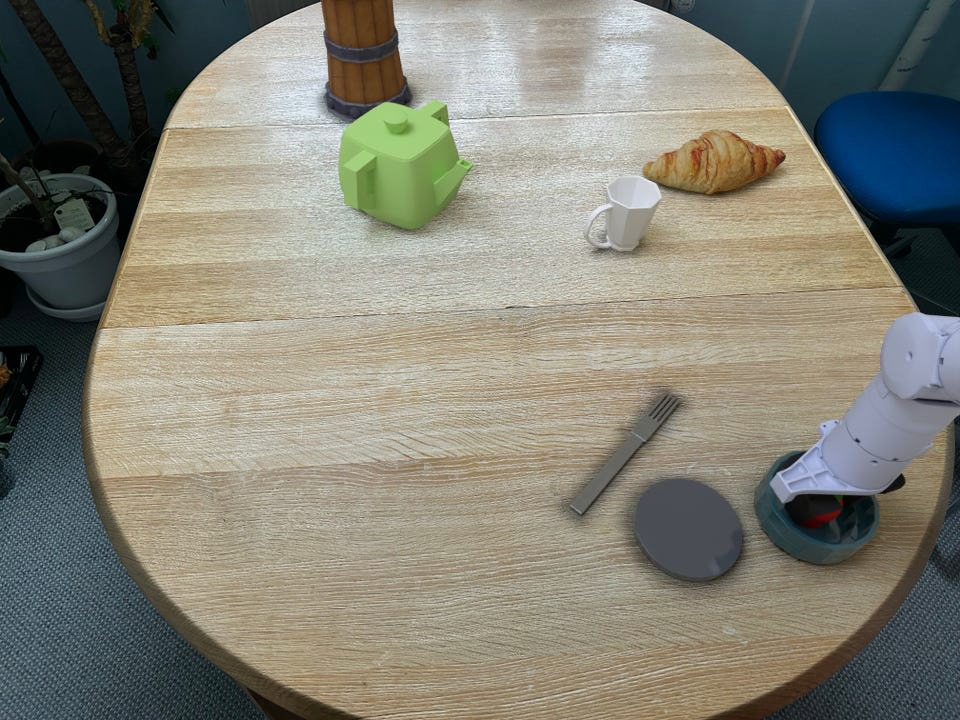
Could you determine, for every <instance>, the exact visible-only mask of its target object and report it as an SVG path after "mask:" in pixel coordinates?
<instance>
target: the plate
mask: <svg viewBox="0 0 960 720" xmlns="http://www.w3.org/2000/svg"><path fill="white" fill-rule="evenodd" d="M632 530H633V534H634V535H633V536H634V538H635V541H636V543H637V545H638V547H639V549H640V551H641V552H642V554H643V555H644V556H645V558H646V559H647V560H648V561H649V562H650V563H651V564H652V565H653V566H654V567H655V568H657V569H658V570H659V571H660V572H663V573H664V574H666V575H668V576H670V577H671V578H675V579H678V580H681V581H685V582H691V583H696V582H698V583H701V582H707V581H711V580H715V579H716V578H719V577H721V576H723V575H724V574H726V572H728V571H729V570H730V568H731V567H732V566H733V565H734V564H735V562H736V561H737V559H738V557H739V556H740V553H741V551H742V547H743V529H742V526H741V522H740V519H739V517H738V515H737V512H736V511H735V509H734V508H733V506H732V504H730V503H729V502H728V500H727V499H726V498H725V497H724V496H723V495H722V494H720V492H718V491H717V490H715V489H713V488H712V487H710V486H708V485H706V484H705V483H703V482H699V481H697V480H693V479H689V478H680V477H679V478H678V477H677V478H668V479H664V480H661V481H659V482H655V483H654V484H652V485H651V486H650V487H648V488H647V489H646V490H645V491H644V492H643V493H642V494H641V496H640V497H639V499H638V501H637V504H636V506H635V507H634V511H633V517H632Z"/></svg>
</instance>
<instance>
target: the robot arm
mask: <svg viewBox="0 0 960 720" xmlns="http://www.w3.org/2000/svg"><path fill="white" fill-rule="evenodd" d="M879 367H880V368H879V370H878V371H877V373H876V374H875V375H874V376H873V378H872V379H871V380H870V382H869V383H868V384H867V386H866V387H865V388H864V389H863V391H862V392H861V393H860V394H859V395H858V397H857V398H856V399H855V401H854V402H853V403H852V404H851V405H850V406H849V408H848V410H847V411H846V412H845V413H844V415H842V417H841V418H840V419H836V418H834V419H829V420H826V421H823V422H821V423H820V424H818V426H817V428H816V431H817V432H818V435H820V437H821V438H820V439H819V440H818V441H817V442H815V443H814V444H813V445H812V446H811V447H810V448H809V449H808V451H806V450H803V451H804V452H801V453H798V454H795V455H792V456H790V457H789V458H788V459H787V460H786V462H785V463H784V469H785V470H783V471H781V472H778V473H777V474H776V475H775V477H774V478H773V479H772V481H771V482H770V485H771V487H772V488H773V490H774V492H775V493H776V495H777V496H778V497H779V499H780V500H781V502H782V503H785V505H784V508H785V509H786V511H787V512H788V514H789V515H790V517H791V518H792V520H793V521H794V523H795V524H796V525H798V524H801V523H804V522H807V521H809V520H811V519H812V518H814V517H815V516H817V515H825V514H829V513H832V512H835V511H838V510H841V509H844V508H847V507H849V506H851V505H853V504H855V503H857V502H859V501H861V500H863V499H865V498H866V497H869V496H871V495H875V496H876V495H886V494H890V493H892V492H896V491H898V490H901V489H902V488H903V487H904V486H906V477H905V475H904V473H903V472H904V471H905V470H906V469H907V468H908V467H909V466H910V465H911V464H912V463H913V462H914V461H915V459H920V458H923V457H924V456H925V455H926V454H928V452H929V451H930V450H931V449H932V448H933V447H934V446H935V444H934V443H933V442H932V441H933V440H934V439H935V438H936V437H937V436H938V435H939V434H940V433H941V432H942V431H944V429H945V428H946V427H948V426H949V425H950V424H951V423H952V422H953V421H954V420H955V419H956V418H957V417H958V416H960V317H959V316H947V315H946V316H944V315H933V314H925V313H922V312H920V311H913V312H911V313H909V314H903V315H901V316H899V317H897V318H896V319H894V321H892V323H891V324H890V325H889V327H888V329H887V331H886V332H885V335H884V336H883V340H882V343H881V347H880V354H879ZM834 494H835V495H843V498H842V500H843V506H842V505H841V504H840V502H839V501H838V500H837V498H836V497H835V495H834Z"/></svg>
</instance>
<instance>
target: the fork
mask: <svg viewBox="0 0 960 720" xmlns="http://www.w3.org/2000/svg"><path fill="white" fill-rule="evenodd" d="M680 402H681V400H680V399H679V398H677V397H676V396H673V395H672V394H671V393H669V392H668V391H665V392H664V393H663V394H662V395H661V396H660V398H659V399H658V400H657V401H656V402H655V404H654V405H653V406H652V407H651V408H650V409H649V410H648V411H647V413H646V414H645V415H644V416H643V417H642V418H641V419H640V421H639V422H638V423H637V424H636V426H634V428H633V429H632V430H631V431H630V433H629V434H630V435H629V436H628V438H627V439H625V441H624V442H623V444H622V445H620V447H619V448H618V449H617V450H616V451H615V453H614V454H613V455H612V456H611V457H610V459H608V460H607V462H606V463H605V464H604V465H603V466H602V467H601V469H600V470H599V471H598V472H597V473H596V474H595V475H594V477H593V478H592V479H591V480H590V481H589V483H588V484H587V485H586V486H585V487H584V488H583V489H582V491H581V492H580V493H579V494H578V495H577V496H576V498H575V499H574V500H572V502H571V503H570V504H569V509H570V510H572V511H573V512H574V513H576V514H578V515H579V516H581V517H582V515H583V514H584V513H585V512H586V511H587V510H588V509H589V507H590V506H591V505H592V504H593V503H594V502H595V500H596V499H597V498H598V496H599V495H600V494H601V493H602V492H603V491H604V490H605V488H606V487H607V486H608V485H609V484H610V482H611V481H612V480H613V479H614V478H615V477H616V475H617V474H618V473H619V472H620V471H621V469H622V468H623V467H624V466H625V465H626V464H627V462H628V461H629V460H630V459H631V458H632V457H633V455H634V454H636V452H637V450H639V449H640V447H641V446H642V445H643V444H646V443H647V442H648V441H649V439H651V437H652V436H653V435H654V433H655V432H656V431H657V430H658V429H659V428H660V427H661V425H662V424H663V423H664V422H665V421H666V420H667V418H668V417H669V416H670V414H672V412H673V411H674V410H675V409H676V408H677V406H678V405H679V404H680Z"/></svg>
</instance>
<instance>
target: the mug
mask: <svg viewBox="0 0 960 720" xmlns="http://www.w3.org/2000/svg"><path fill="white" fill-rule="evenodd" d="M320 5H321V11H322V18H323V23H324V24H323V25H324V31H323V32H322V35H323V41H324V45H325V48H326V62H327V63H326V64H327V78H328V80H327V81H326V82H325V85H324V88H325V90H326V92H325V94H323V101H324V104H325V107H326V109H327V112H328V113H330V114H331V115H333V116H335V117H337V118H338V119H340V120H342V121H343V122H349V123H353V122H354V121H356V120H357V119H358V118H360V117H361V116H363V115H364V114H366V113H367V112H369V111H370V110H372V109H373V108H375V107H377V106H378V105H380V104H382V103H384V102H390V103H396V104H399V105H403V106H406V107H409V108H410V105H411V103H412V101H413V99H414V95H413V93H412V91H411V89H410V87H409V82H408V78H407V76H406V75H404V71H403V65H402V60H401V54H400V49H399V45H400V39H399V30H398V29H397V26H396V23H395V22H396V21H395V11H394V0H320Z"/></svg>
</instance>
